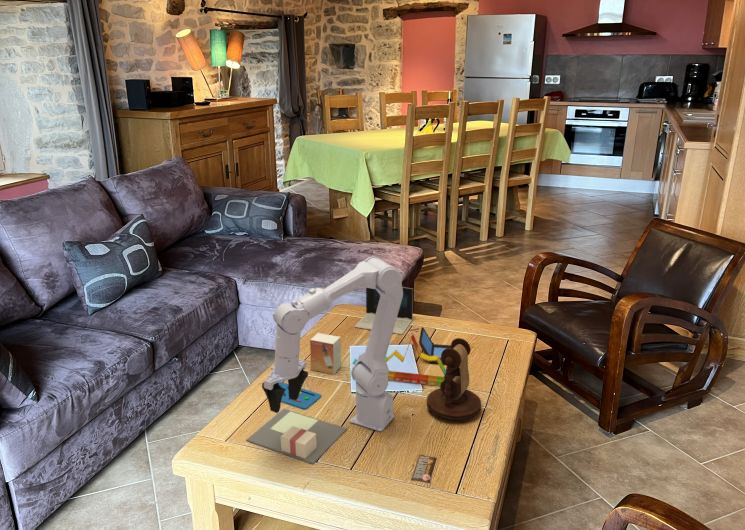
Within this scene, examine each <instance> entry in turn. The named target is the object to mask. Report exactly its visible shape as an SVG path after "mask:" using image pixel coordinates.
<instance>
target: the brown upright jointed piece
mask: <svg viewBox="0 0 745 530" xmlns="http://www.w3.org/2000/svg"><path fill="white" fill-rule="evenodd" d="M450 345H451V348H447V349H445V350H443V352H442V354H441V359H442V362H443V363H444V364H445V365H444V366H446V368H445V370H446V373H445V375H444V374H443V375H444V376H443V377H444V378H445V380H443V381H442V382H441V384H440V386H439V388H436V389H434V390H433V391H431V392H429V393H428V395H427V397H426V406H427V409H428V412H429V413H430V414H434V415H436V416H438V417H440V418H443V419H447V420H453V421H454V420H455V421H456V420H457V421H459V420H461V422H462V424H463V423H465V422H466V420H467V419H470V418H473V417H475V416H476V415H477V414H479V413H480V412H481V410H482V400H481V398H480V397H479V396H478V394H476V393H475V392H473V391H471V390H469V389H468V387H469V386H470V371H469V355H470V354H471V350H472V349H471V345H470V343H469V342H468V341H467V340H466V339H464V338H460V337H458V338H455V339H453V340H452V341H451V343H450Z"/></svg>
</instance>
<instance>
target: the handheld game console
mask: <svg viewBox="0 0 745 530" xmlns="http://www.w3.org/2000/svg"><path fill="white" fill-rule="evenodd" d="M419 334H420V335H419V340H418V343H419V344H418V345H419V347H420V348H421V349H422V351H423V354H426V355H428V356H439V358H440V360H441V362H442V359H441V354H442V352H443V350H445V349H447V348H451V344H436V343H434V342H433V341H432V340H431V338H430V336H429V335H428V333H427V331H426V329H425V328H424V327H421V328H420V333H419ZM428 364H429V365H439V364H438V362H437V361H428ZM442 364H443V366H446V365H445V364H444V363H443V362H442Z"/></svg>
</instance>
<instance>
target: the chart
mask: <svg viewBox="0 0 745 530" xmlns="http://www.w3.org/2000/svg"><path fill="white" fill-rule="evenodd" d="M411 340H412V343H413V346H414V347H415V350H416V352H417V354H418V357H419V358H420V359H422V360H425V361H427V362H429V361H437V362H438V364H437V365H439V367H440V370H441V371H442V373H443V375H445V373H446V368H445V365H443V364H442V362H441V360H440V358H439V356H428V355H426V354H425V353H424V352H422V351H421V349H420V345H419V344H418V342H417V340H416V337H415V335H414V334H411V337H410V341H409V343H408V345H407V349H406V351H405V354H404V355H402V354H401V353H400V352H399V351H398V350H397V349H396V350H394V351H393V352H392V353H391V354H390V355H389V356H388V357H387V356H386V358H385V360H386V363H387V362H389V360H390V359H391V358H393V357H394V356H395V357H396V358H397V359H398V360H399V361H400V362H402V363H403V362H404V361H405V357H406V355H407V353H408V349H409V346H410V344H411ZM357 360H358V358H354V360H353V362H352V364H353V366H354V365H355V364H356V362H357ZM443 380H445V378H444V376H441V375H440V376H439V375H432V374H431V375H430V374H420V373H415V372H414V373H412V372H404V371H395V370H389V372H388V382H397V383H406V384H416V385H424V386H432V387H440V384H441V382H442V381H443Z"/></svg>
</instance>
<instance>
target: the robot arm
mask: <svg viewBox="0 0 745 530" xmlns="http://www.w3.org/2000/svg"><path fill="white" fill-rule="evenodd" d="M403 279H404V276H403V274H402V273H401V272H400V271H399V269H398V268H397V267H396V266H393V265H392V264H389V263H387V262H386V261H384V260H382V259H381V258H379V257H377V256H369V257H367V258H366V259H365V260H362V261H359V262H358V263H357V265H356V267H355V268H353V269H352V270H350V271H349V272H348V273H345V275H342V277H340V278H339V279H338V280H336V281H334V282H332V283H331V284H329V285H328V286H327V287H325V288H323V287H316V288H314V287H312V288H310V289H308V292H307V293H306V294H303V295H302V296H300V297H298V298H297V299H296V298H294V299H292V300H291V302H284V303H281V304H280V305H278V307H276V309H275V311H274V313H273V314H272V319H273V321H274V322H275V324H276V332H275V333H276V334H275V349H274V365H271V366H270V370H271V372H270V374H269V375H268V377H267V378H266V379H264V380H263V382H262V383H261V389H262V390H263V391H264V393H265V395H266V399H267V401H268V406H269V410H270V411H271V412H273V413H276V414H278V413H279V412H280V411H281V405H282V402H281V399H282V396H283V394H284V392H285V390H286V389H284V388H282V387H280V385H279V382H285V381H288V382H287V384H288V385H289V398H291V399H294V400H297V399H298V396H299V393H300V390H301V388H302V387H303V385H304V383H305V382H306V379H308V377H309V372H308V371H307V370H305V369H307V365H308V364H307V361H306V360H304V359H301V358H300V350H301V349H300V347H301V333H302V331H303V330H304V329H305V327H306V325H307V323H309V321H310V320H312V319H313V318H315V317H317V316H318V315H320V314H322V313H324V312H326V311H327V310H329V309H330V308H331V304H332V302H333V301H335V300H337V299H339V298H341V297H344V295H348V294H349V293H351V292H352V291H353V292H354V291H355V290H357V289H359V288H365V289H366V288H371V289H376V290H377V292H378V293H379V294H380V300H379V303H378V307H377V311H376V314H375V318H374V321H373V325H372V329H371V330H370V333H369V337H368V341H367V345H366V347H365V350H364V351H365V352H364V353H362V354H360V355H358V357H357V362H356V364H355V365H354V364H353V366H352V369H351V373H350V375H351V377H352V380H354V381H355V410H356V411H355V413H356V414H354V416H352V417H351V419H350V421H349V423H352V424H354V425H358V426H361V427H363V428H364V427H365V428H368V429H371V430H375V431H377V432H382V431H384V429H385V428H386V427H387V426H388V425H389V423H391V421H393V419H394V418H395V414H394V396H393V394H392V393H390V392H387V389H388V387H389V381H388V372H389V371H390V370H389V367H388V364H387V362H386V360H385V358H386V357H387V354H388V351H389V347H390V343H391V341H392V340H391V339H392V336H393V334H394V333H393V329H394V326H395V322H396V319H397V315H398V312H399V308H400V304H401V301H402V297H403V289H402V287H403V284H402V282H403ZM302 389H303V388H302Z"/></svg>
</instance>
